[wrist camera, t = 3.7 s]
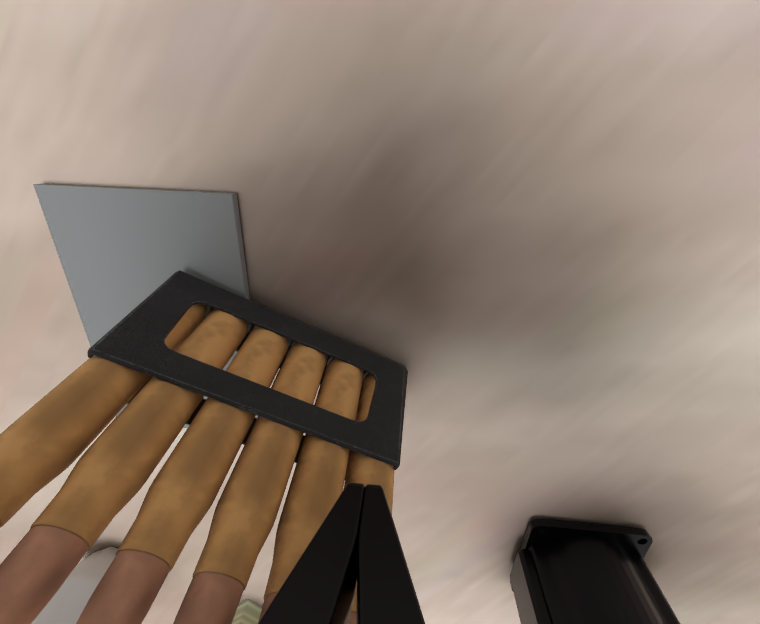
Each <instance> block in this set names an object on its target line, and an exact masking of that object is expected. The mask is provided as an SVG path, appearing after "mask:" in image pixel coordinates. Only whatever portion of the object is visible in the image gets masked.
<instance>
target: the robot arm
mask: <svg viewBox="0 0 760 624" xmlns="http://www.w3.org/2000/svg"><path fill="white" fill-rule="evenodd" d="M652 541H653V540H652V538H651V536H650V535H649V533H648V532H647V531H646V530H645V529H641V528H630V527H620V526H609V525H598V524H588V523H577V522H566V521H556V520H545V519H535V520H532V521H531V522H530V523H529V525H528V528H527V531H526V534H525V537H524V540H523V543H522V547H521V548H520V550H519V551H518V552H517V555H516V558H515V562H514V565H513V568H512V571H511V574H510V579H511V580H510V583H511V588H512V591H513V592H514V596H515V600H516V604H517V608H518V612H519V617H520V621H521V624H680V622H679V621H678V619H677V617H676V615H675V614H674V612H673V610H672V608H671V607H670V605H669V603H668V601H667V600H666V598H665V596H664V594H663V593H662V591H661V589H660V587H659V586H658V584H657V582H656V581H655V579H654V577H653V575H652V574H651V572H650V570H649V568H648V567H647V565H646V563H645V561H644V560H643V558H644V556H645V554H646V552H647V551H648V549H649V547H650V545H651V543H652ZM356 584H357V599H356V624H425V622H424V618H423V615H422V612H421V609H420V605H419V602H418V599H417V596H416V592H415V589H414V586H413V583H412V579H411V576H410V573H409V570H408V567H407V563H406V560H405V557H404V554H403V550H402V547H401V544H400V541H399V537H398V534H397V531H396V528H395V525H394V521H393V518H392V515H391V512H390V508H389V505H388V502H387V499H386V495H385V492H384V489H383V487H382V486H381V485H372V484H368V485H366V486H365V485H364V484H362V483H348V484H347V486H346V487H345V489H344V490H343V492H342V493H341V495H340V496H339V498H338V499H337V501H336V503H335V504H334V506H333V507H332V509H331V510H330V512H329V513H328V515H327V517H326V518H325V520H324V521H323V523H322V524H321V526H320V527H319V529H318V531H317V532H316V534H315V535H314V537H313V538H312V540H311V541H310V543H309V545H308V546H307V548H306V549H305V551H304V552H303V554H302V555H301V557H300V559H299V560H298V562H297V563H296V565H295V566H294V568H293V570H292V571H291V573H290V574H289V576H288V577H287V579H286V580H285V582H284V584H283V585H282V587H281V588H280V590H279V591H278V593H277V594H276V596H275V598H274V599H273V601H272V602H271V604H270V605H269V607H268V608H267V610H266V612H265V613H264V615H263V616H262V618H261V619H260V621H259V622H258V624H349V620H350V615H351V611H352V606H353V601H354V596H355V590H356Z"/></svg>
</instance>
